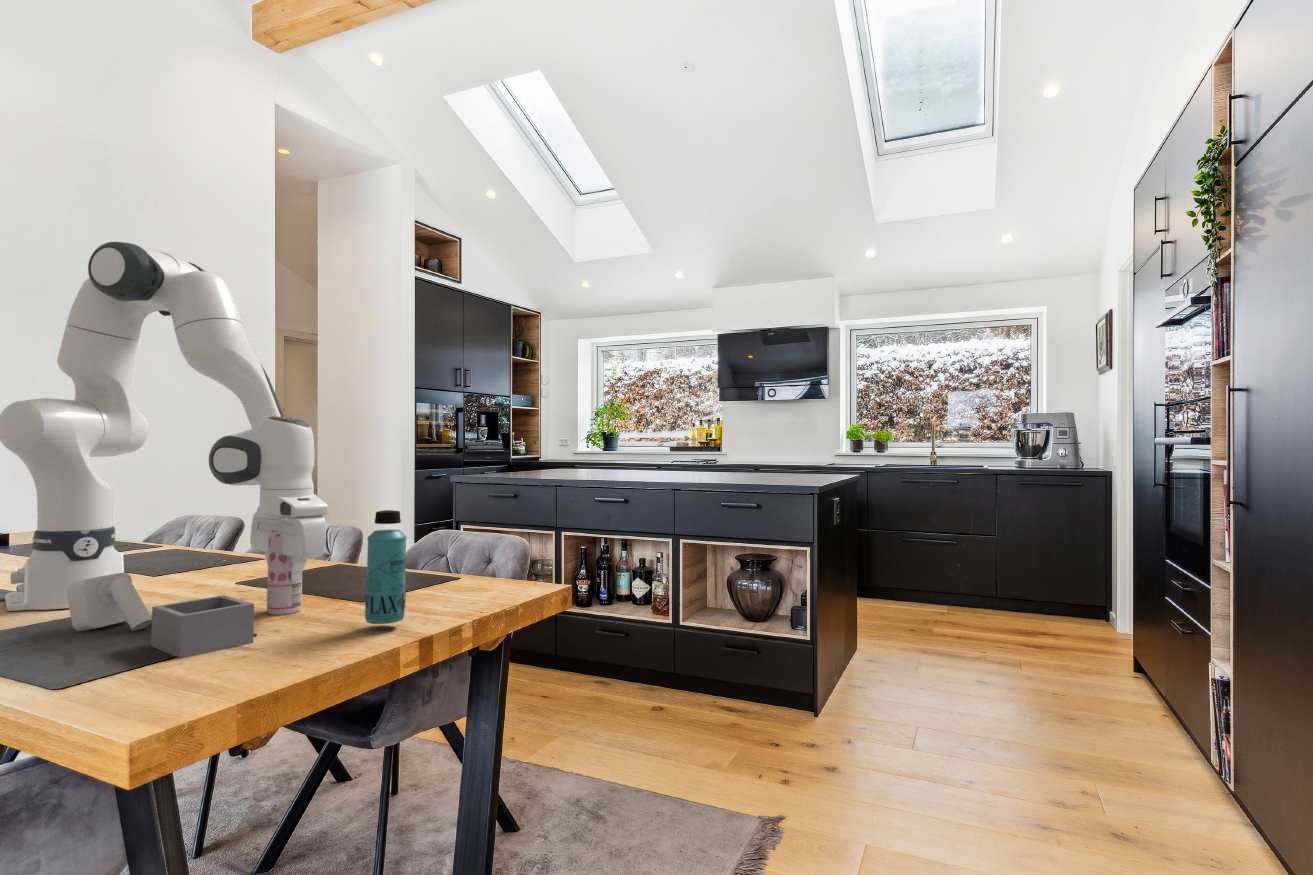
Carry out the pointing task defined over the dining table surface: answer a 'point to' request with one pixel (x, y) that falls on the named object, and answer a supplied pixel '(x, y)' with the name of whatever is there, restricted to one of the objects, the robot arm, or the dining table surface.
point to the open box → (202, 625)
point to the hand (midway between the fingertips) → (285, 578)
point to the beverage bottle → (386, 572)
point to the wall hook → (106, 603)
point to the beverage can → (281, 580)
